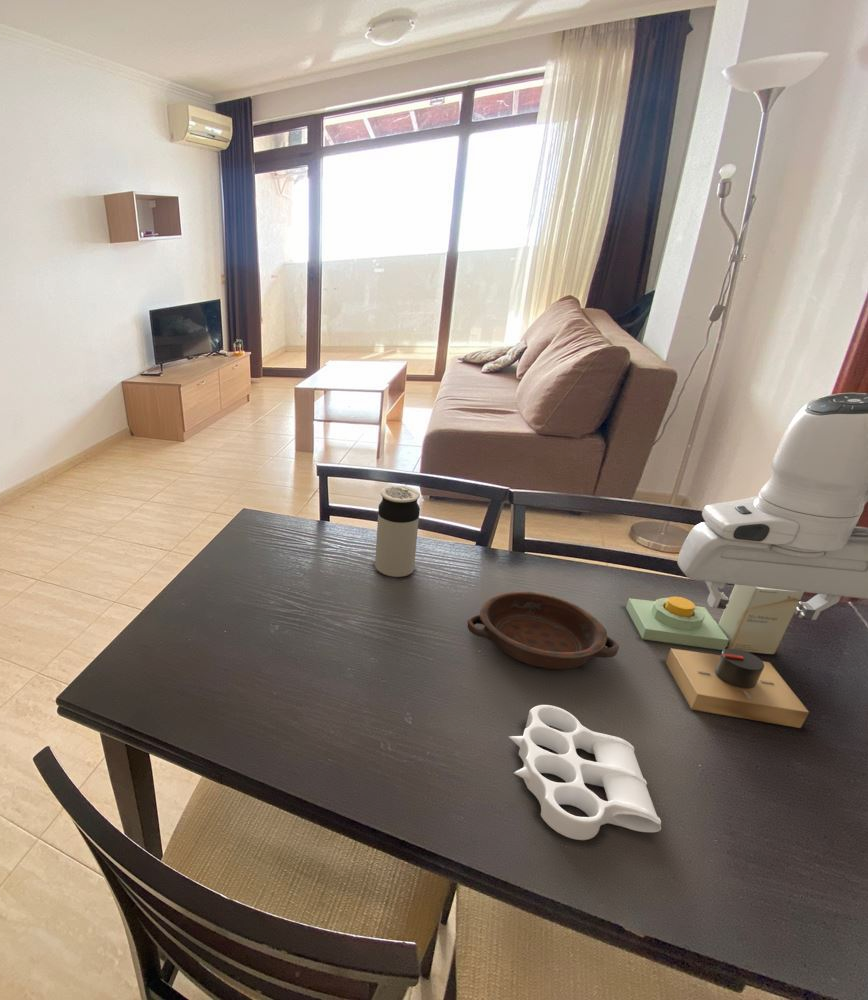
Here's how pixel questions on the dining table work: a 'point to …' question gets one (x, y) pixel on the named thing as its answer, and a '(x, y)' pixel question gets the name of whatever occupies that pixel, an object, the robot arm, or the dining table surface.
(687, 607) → the button
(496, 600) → the dish
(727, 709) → the dial panel
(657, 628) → the button housing
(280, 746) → the dining table surface
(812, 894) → the dining table surface
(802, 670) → the dining table surface
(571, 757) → the knuckle duster
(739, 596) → the cosmetic box
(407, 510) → the travel mug
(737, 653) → the dial
